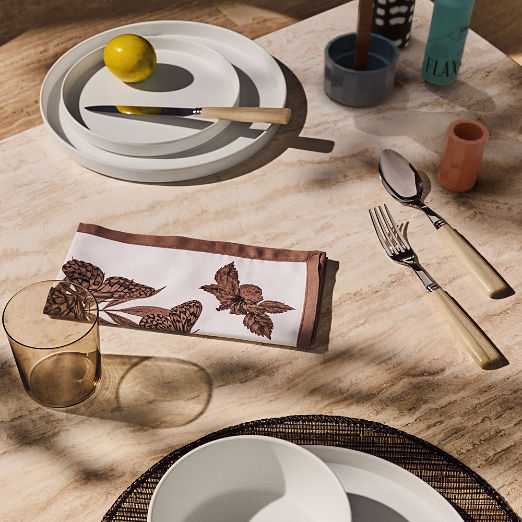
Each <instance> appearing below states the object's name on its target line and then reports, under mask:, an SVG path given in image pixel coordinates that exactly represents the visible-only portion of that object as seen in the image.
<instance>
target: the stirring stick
mask: <svg viewBox="0 0 522 522" xmlns="http://www.w3.org/2000/svg"><path fill="white" fill-rule="evenodd" d="M373 2H374V0H358V5H357V6H358V8H357V18H356V28H355V29H356V31H355V32H356V40H355V52H354V64H353V70H356V71H367V61H368V51H369V41H370V31H371V22H372V12H373Z"/></svg>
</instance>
